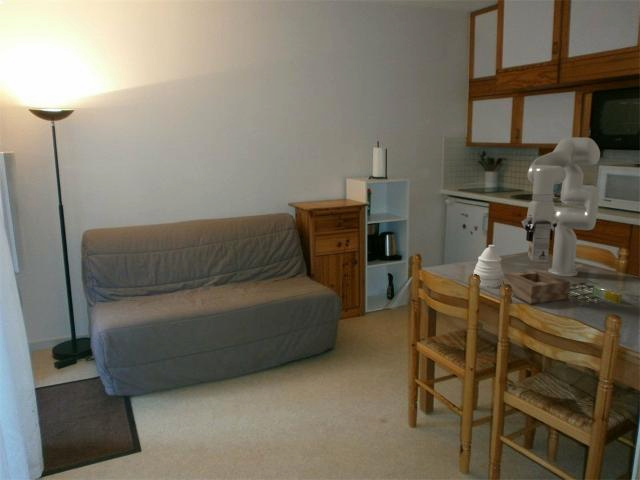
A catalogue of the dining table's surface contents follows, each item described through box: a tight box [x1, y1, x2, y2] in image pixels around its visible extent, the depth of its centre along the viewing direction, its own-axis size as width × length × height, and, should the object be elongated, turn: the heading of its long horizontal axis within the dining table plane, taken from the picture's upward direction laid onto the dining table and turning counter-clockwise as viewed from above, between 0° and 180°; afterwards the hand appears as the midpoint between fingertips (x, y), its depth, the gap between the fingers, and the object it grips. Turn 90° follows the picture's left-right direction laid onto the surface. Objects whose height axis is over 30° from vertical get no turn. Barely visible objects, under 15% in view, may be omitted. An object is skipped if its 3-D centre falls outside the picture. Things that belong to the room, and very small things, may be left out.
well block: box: [503, 269, 571, 306], centre depth 214 cm, size 18×18×8 cm
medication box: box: [592, 285, 623, 304], centre depth 210 cm, size 12×3×4 cm, turn 20°
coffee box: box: [527, 221, 551, 263], centre depth 210 cm, size 9×6×16 cm
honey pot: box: [473, 244, 504, 288], centre depth 232 cm, size 13×13×18 cm
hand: (539, 240), depth 210 cm, fingers closed on coffee box, 8 cm apart
